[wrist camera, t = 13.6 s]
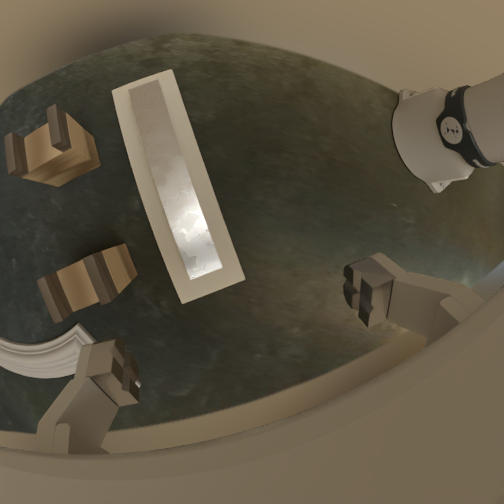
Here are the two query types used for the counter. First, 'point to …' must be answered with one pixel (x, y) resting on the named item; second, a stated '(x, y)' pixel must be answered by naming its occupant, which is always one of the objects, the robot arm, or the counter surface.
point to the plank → (201, 185)
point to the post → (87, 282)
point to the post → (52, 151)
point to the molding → (46, 355)
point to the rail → (173, 180)
